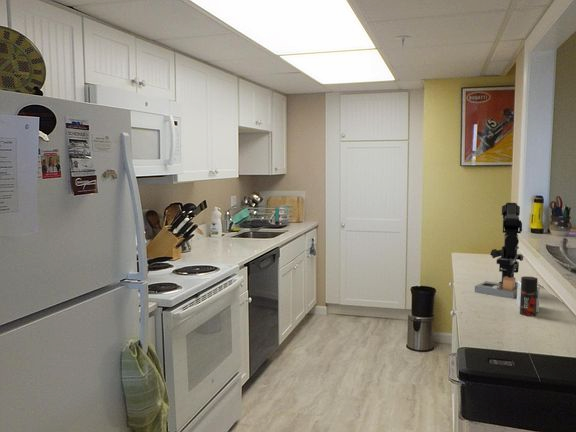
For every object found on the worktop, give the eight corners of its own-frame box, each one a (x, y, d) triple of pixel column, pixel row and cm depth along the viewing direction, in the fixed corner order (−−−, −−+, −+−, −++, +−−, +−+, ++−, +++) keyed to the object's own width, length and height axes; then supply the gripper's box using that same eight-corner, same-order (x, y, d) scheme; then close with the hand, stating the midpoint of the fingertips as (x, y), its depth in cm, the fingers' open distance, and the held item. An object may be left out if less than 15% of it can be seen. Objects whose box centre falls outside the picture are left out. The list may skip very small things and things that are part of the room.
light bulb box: (539, 312, 212) (540, 286, 211) (521, 311, 213) (522, 286, 212) (532, 305, 222) (533, 281, 221) (515, 304, 223) (516, 280, 222)
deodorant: (535, 313, 211) (537, 277, 209) (536, 317, 205) (538, 280, 204) (519, 311, 213) (521, 276, 211) (520, 315, 207) (521, 278, 206)
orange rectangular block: (505, 292, 245) (506, 276, 244) (514, 294, 242) (515, 277, 242) (502, 294, 242) (503, 277, 241) (511, 295, 239) (512, 278, 238)
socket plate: (485, 287, 256) (486, 279, 256) (523, 293, 244) (523, 285, 244) (474, 292, 246) (474, 284, 246) (513, 298, 234) (513, 290, 233)
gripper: (500, 240, 252) (499, 271, 254) (485, 244, 238) (484, 277, 240) (524, 242, 245) (522, 275, 246) (510, 247, 231) (509, 281, 232)
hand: (509, 277), depth 241 cm, fingers closed
